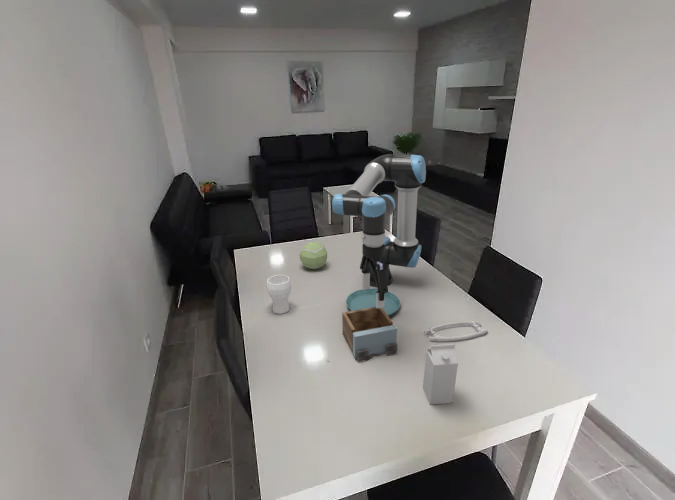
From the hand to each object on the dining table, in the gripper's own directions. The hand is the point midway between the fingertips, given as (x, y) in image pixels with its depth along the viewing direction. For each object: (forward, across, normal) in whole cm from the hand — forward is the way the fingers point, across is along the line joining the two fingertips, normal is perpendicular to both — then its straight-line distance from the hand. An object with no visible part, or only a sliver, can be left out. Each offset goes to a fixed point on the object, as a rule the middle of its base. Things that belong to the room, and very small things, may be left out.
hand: (372, 297), depth 127 cm
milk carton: (+20, +31, +9) cm, 38 cm away
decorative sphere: (+21, -74, -5) cm, 77 cm away
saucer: (+21, -24, +10) cm, 33 cm away
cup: (+20, -35, -30) cm, 50 cm away
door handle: (+21, +5, +34) cm, 40 cm away
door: (+19, +6, -2) cm, 20 cm away
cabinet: (+20, 0, -1) cm, 20 cm away
